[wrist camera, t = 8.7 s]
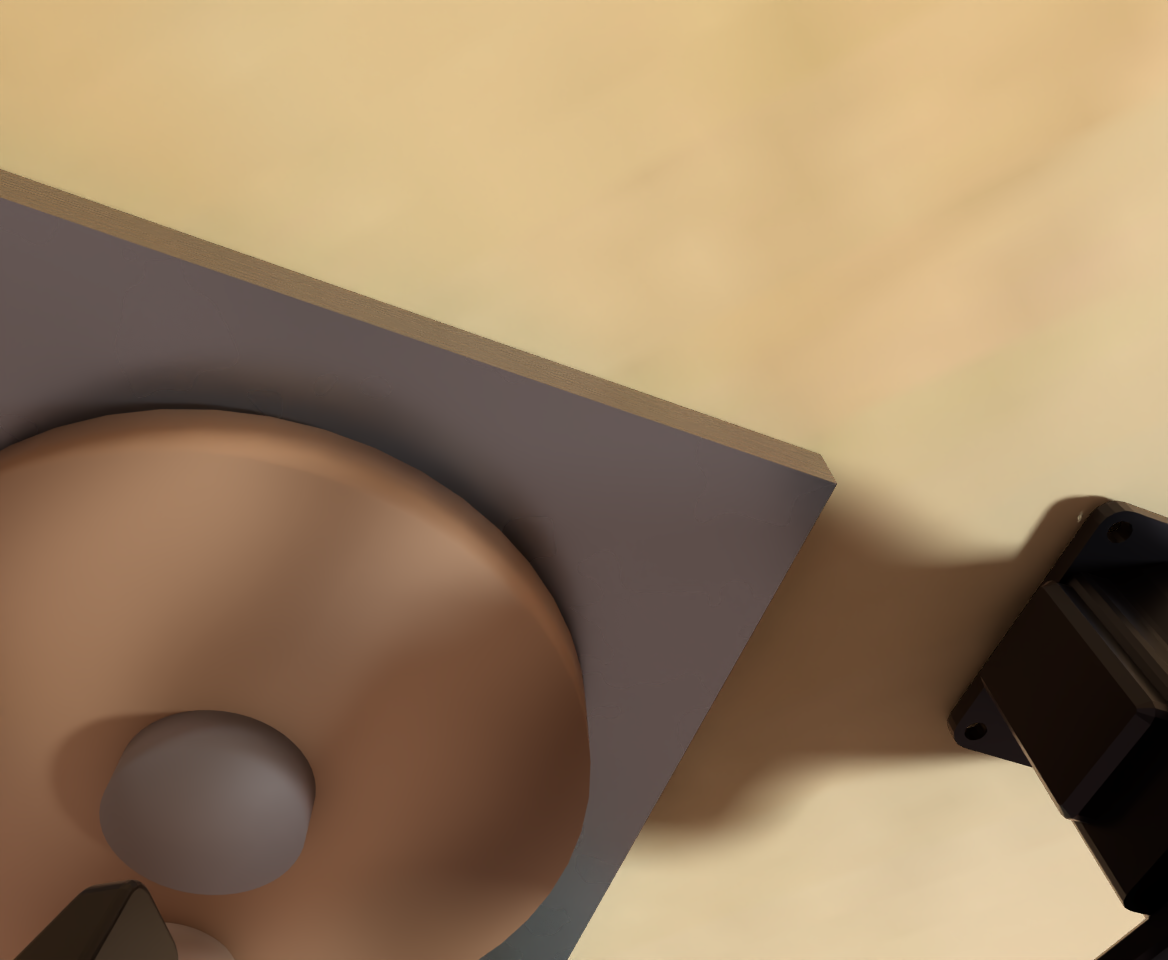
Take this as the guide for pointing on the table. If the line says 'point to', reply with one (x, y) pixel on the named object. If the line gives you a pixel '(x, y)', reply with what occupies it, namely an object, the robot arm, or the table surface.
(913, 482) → the table surface
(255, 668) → the cam dial
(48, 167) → the table surface
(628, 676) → the level stand
